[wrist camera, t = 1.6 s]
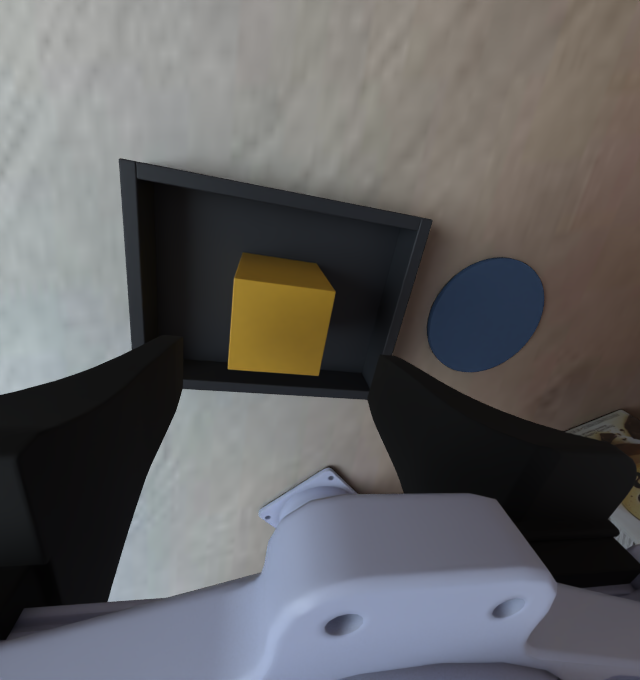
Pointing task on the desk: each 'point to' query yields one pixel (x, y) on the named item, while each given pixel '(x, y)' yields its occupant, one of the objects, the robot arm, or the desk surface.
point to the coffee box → (636, 441)
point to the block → (279, 316)
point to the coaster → (485, 314)
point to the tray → (269, 240)
